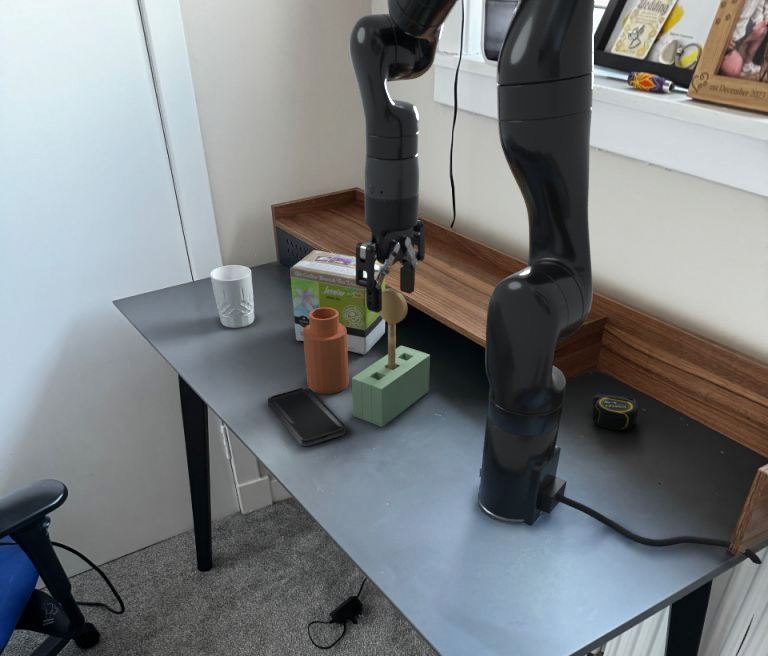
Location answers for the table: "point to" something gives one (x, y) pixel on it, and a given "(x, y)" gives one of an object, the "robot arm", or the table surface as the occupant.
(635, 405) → the tape measure
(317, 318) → the bottle
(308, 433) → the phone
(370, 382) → the holder
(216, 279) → the white cup
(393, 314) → the tan flat rounded part
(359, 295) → the tea box
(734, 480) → the table surface
